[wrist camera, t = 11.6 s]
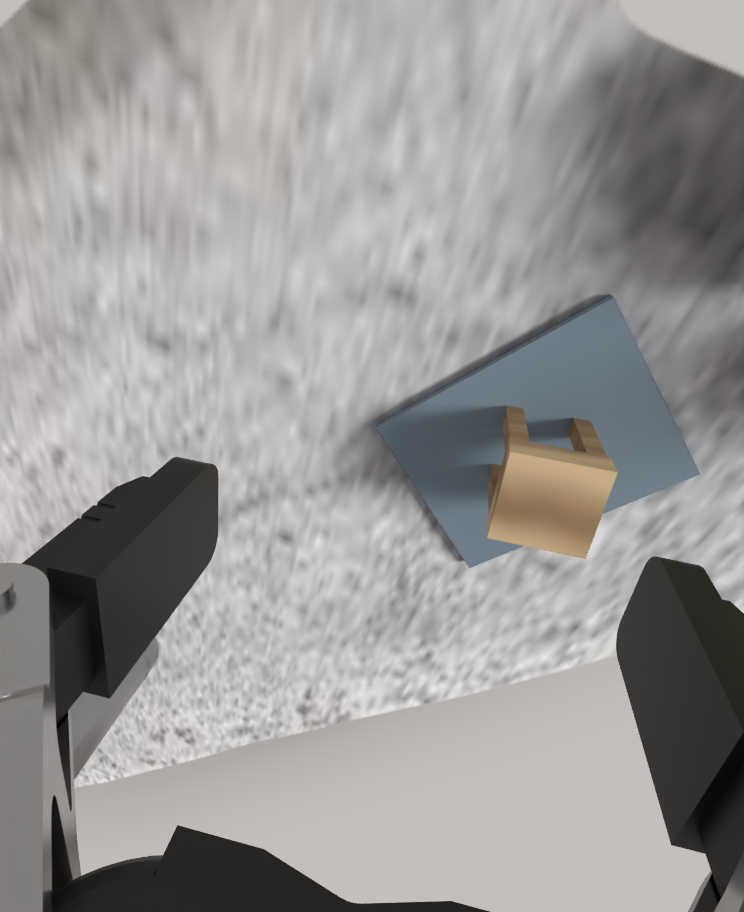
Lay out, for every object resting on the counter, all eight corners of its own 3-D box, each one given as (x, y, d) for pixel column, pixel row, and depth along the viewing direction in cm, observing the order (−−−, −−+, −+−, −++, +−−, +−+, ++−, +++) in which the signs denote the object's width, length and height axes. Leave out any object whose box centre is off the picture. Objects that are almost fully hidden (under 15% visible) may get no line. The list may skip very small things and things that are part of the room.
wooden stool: (505, 403, 39) (510, 451, 32) (592, 420, 38) (617, 472, 31) (486, 478, 42) (486, 538, 35) (567, 494, 41) (585, 558, 34)
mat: (469, 560, 46) (469, 568, 45) (378, 423, 42) (375, 428, 42) (695, 467, 40) (700, 474, 39) (610, 294, 36) (613, 297, 35)
